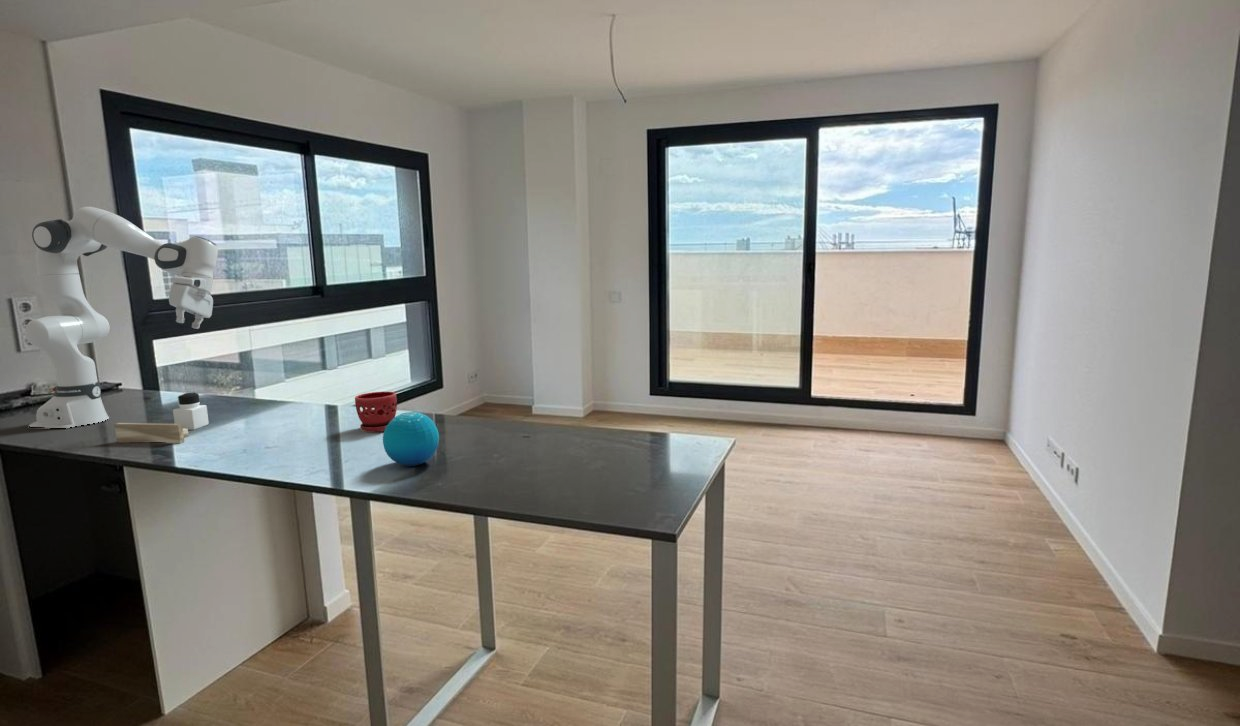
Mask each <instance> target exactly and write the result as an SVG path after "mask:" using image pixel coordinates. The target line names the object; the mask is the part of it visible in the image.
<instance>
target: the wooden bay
mask: <svg viewBox="0 0 1240 726" xmlns="http://www.w3.org/2000/svg"><path fill="white" fill-rule="evenodd" d="M113 425H114V431H115V436H116V437H115V438H116V443H130V442H166V443H165V444H183V443H185V438H187V437H189V436H190V435H189V430H188V429H184V428H182V424H175V423H155V422H154V423H149V422H147V423H145V422H144V423H143V422H139V423H138V422H117V423H114V424H113Z"/></svg>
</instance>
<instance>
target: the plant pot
mask: <svg viewBox="0 0 1240 726" xmlns="http://www.w3.org/2000/svg"><path fill="white" fill-rule="evenodd" d="M397 398H398V397H397V393H396V392H395V391H373V392H367V393H362V394H358V395H356V396H354V405H355V410H356V412H357V417H358V419H359V421H360V422H361V424H360V425H359V426H360V429H361V430H362V431H365V432H368V433H369V432H370V433H377V432H384V430H385V428H386V426H387V425H388V423H389V422H390V421H391V420H392V419H393V418H395V417H396V416H397V410H398V407H397V406H398V401H397ZM361 409H362V410H361Z"/></svg>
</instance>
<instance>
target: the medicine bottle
mask: <svg viewBox="0 0 1240 726" xmlns="http://www.w3.org/2000/svg"><path fill="white" fill-rule="evenodd" d="M177 401H178V403H177V404H178V408H174V409H172V414H173V420H174V421H173V422H174V423H173V424H182V428H184V429H188V431H195V430H197V429H200V428H203V427H207V426H208V425H210V422H209V416H208V414H209V413H208V406H207V405H206V404H200V401H201V400H200V395H199V393H197V392H184V393H181V394H179V395H178V396H177Z"/></svg>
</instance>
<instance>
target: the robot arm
mask: <svg viewBox="0 0 1240 726" xmlns="http://www.w3.org/2000/svg"><path fill="white" fill-rule="evenodd" d="M31 236H32V241H33V243H34V245H35V246H36V247H37V248H36V252H35V264H36V265H35V266H36V274H37V278H38V285H39V289H40V294H41V298H42V299H43V300H45V301H46V302H48V303H50V304H53V306H56V308H57V309H58V311H59V313H60V314H58V315H46V316H43V317H39V318H36V319H35V318H34V319H33V320H29V322H28V323H27V324H26V326H25V329H24V334H25V338H26V340H27V342H28V343H29V344H30V345H32V346H34V347H35V348H37V349H39V350H40V351H42V352H43V353H44V354H45V355H46V356H47V357H48V359H49V360H50V362H51V363H52V366H53V370H54V374H55V378H56V384H57V385H56V386H55V387H51V388H49V390H50V391H49V392H50V393H52V392H54V393H53V396H52V397H51V398H50V399H48V400H47V401H46V402H45V403H44V404H43V405H41V406H40V407H39V408H38V409H37V411H36V417H35V418H36V421H34V422H32V423H29V425H28V427H29V426H30V427H45V428H44V429H50V428H66V429H70V427H72V428H76V427H75V426H77V427H82V426H81V425H84V426H88V425H87V424H90V425H94V424H93V423H95V424H99V423H102V421H103V422H106V421H108V420H109V419H110V416H109V415H108V413H107V411H106V409H105V405H104V403H103V401H102V397H101V396H102V395H101V394H102V390H101V384H100V381H99V380H98V374H97V369H96V368H97V367H96V363H95V360H93V358H91V357H89V356H87V355H84V354H82V352H81V351H80V349H79V347H78V345H83V344H84V345H85V344H92V343H95V342H98V341H101V340H104V339H106V338H107V337H108V335H109V333H110V330H111V326H110V323H109V321H108V319H107V318H106V317H105V316H104V315H103V314H101V313H99V312H98V311H96V310H95V309H94V308H93V306H91V304H90V303H89V302H88V299H86V295H85V294H84V288H83V285H82V280H81V277H80V270H79V265H78V258H80V256H81V255H83V256H84V257H89V256H91V255H94V254H96V253H100V252H102V251H104V250H106V249H107V248H112V249H113V250H118V251H122V252H125V253H131V254H134V255H138V256H141V257H145V258H149V259H152V260H154V263H155V265H156V266H157V267H158V268H160V269H161V270H163V271H165V272H167V273H169V274H171V275H174V276H172V278H171V283H172V284H171V287H170V289H169V297H168V302H169V305H170V306H172V307H175V315H176V319H175V322H176V323H178V324H184V323H185V320H186V318H185V316H184V315H185V312H186V313H189V314H192V315H194V321H193V322H192V323H191V328H193V329H197V330H198V329H200V326H201V324H202V322H203V321H204V318H206V319H210V318H211V317H212V315H213V308H214V307H213V306H214V298H213V297H212V295H211V293H212V288H213V282H214V272H215V270H216V268H217V263H218V257H219V256H218V255H219V249H218V245H217V244H216V243H215V242H213V241H212V240H210V239H206V238H205V237H201V236H199V235H198V236H197V235H195V236H191V237H189V238H188V239H187V240H183V241H180V242H172V243H171V242H168V243H167V242H166V243H163V242H160V241H159V240H157V239H156V238H155V237H152V236H151V235H150V234H148V233H146V232H145V231H144V230H143V229H141V228H139V227H138V226H137V225H135V224H133V223H132V222H131V221H129V219H128V220H127V219H126V218H124V217H122V216H120V215H118V214H116V213H114V212H111V211H108V210H105V209H102V208H98V207H96V206H95V207H94V206H83V207H79V208H78V209H77V210H76V211H75V212H74V214H73V216H72V219H70V220H63V219H60V218H58V219H51V220H47V221H42V222H39V223H37V224H36V225H35V226H34V227H33V229H32V235H31ZM107 419H108V420H107ZM105 420H106V421H105ZM98 422H99V423H98Z"/></svg>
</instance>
